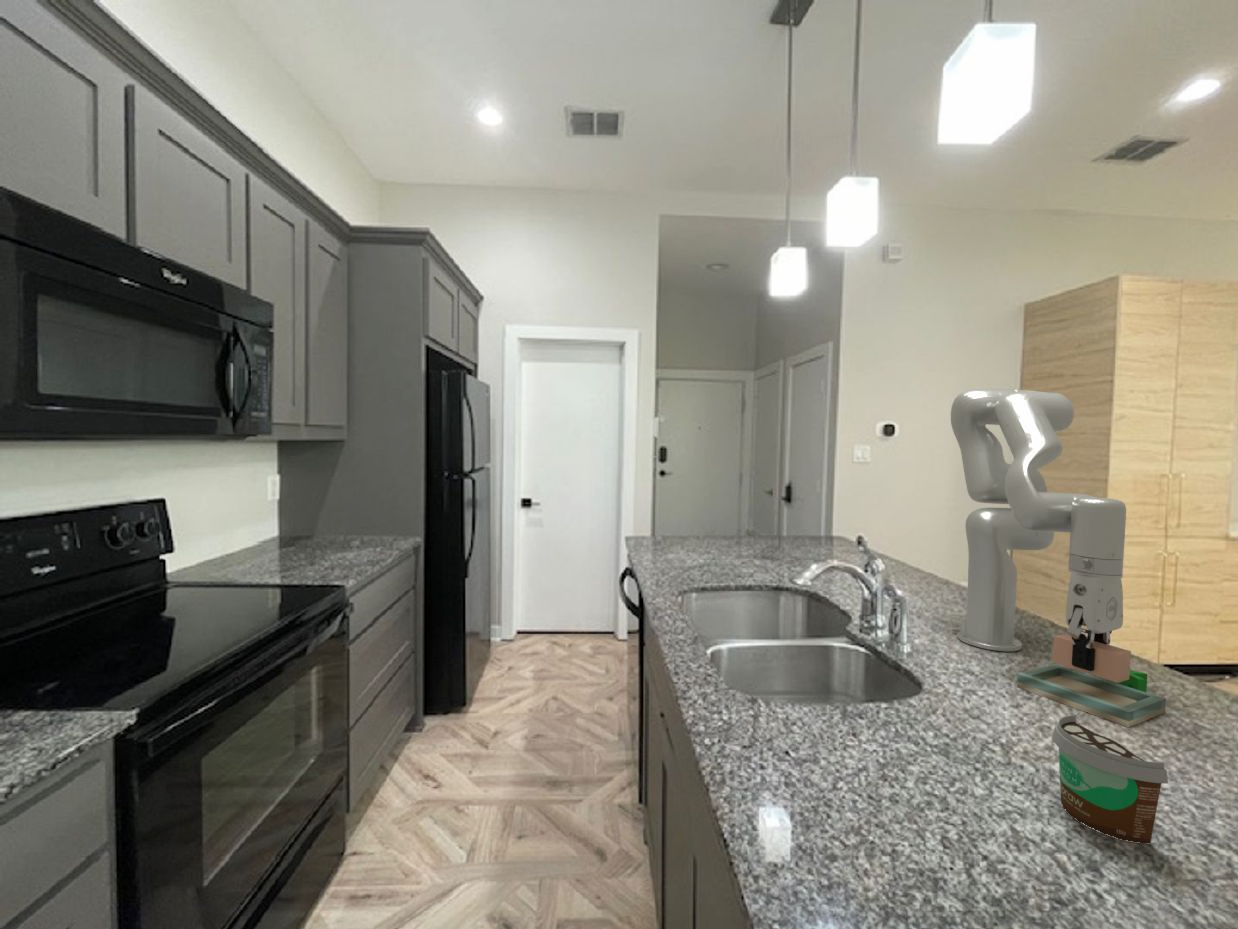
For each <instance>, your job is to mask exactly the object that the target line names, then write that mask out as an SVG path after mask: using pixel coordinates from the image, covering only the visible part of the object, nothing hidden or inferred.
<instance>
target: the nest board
mask: <svg viewBox="0 0 1238 929" xmlns="http://www.w3.org/2000/svg"><path fill="white" fill-rule="evenodd" d="M1016 675H1017V676H1016V687H1017V688H1019V689H1021V690H1024V691H1027V692H1030V693H1033V694H1035V695H1039V696H1041V697H1042V698H1043V697H1044V698H1046V699H1050V700H1052V701H1055V702H1058V703H1060V704H1062V705H1066V706H1068V707H1071V708H1074V709H1077V710H1078V711H1079V710H1080V711H1083V712H1084V711H1085V713H1087V712H1088V713H1087V714H1091V715H1093V716H1095V715H1096V717H1098V718H1101V719H1104V718H1105V719H1104V720H1106V719H1108V720H1107V721H1109V720H1110V721H1109V722H1112V723H1114V724H1118V725H1120V724H1121V725H1120V726H1123V727H1126V728H1130V727H1134V726H1135V725H1138V724H1141V723H1144V722H1147V721H1148V720H1150V718H1151V719H1153V718H1155V717H1158V716H1161V715H1162V714H1165V713H1166V706H1167V705H1166V703H1167V698H1166V697H1162V696H1158V695H1156V694H1153V693H1148V692H1147V691H1146V692H1143V691H1140V690H1137V689H1134V688H1131V687H1127V686H1124V685H1121V684H1118V683H1115V682H1111V681H1108V680H1105V679H1102V678H1099V677H1095V676H1093V675H1091V674H1088V673H1085V672H1081V671H1078V670H1075V669H1072V668H1069V667H1065V666H1062V665H1059V664H1056V663H1051V664H1049V665H1045V666H1043V667H1038V668H1035V669H1030V670H1027V671H1023V672H1019V673H1017V674H1016Z"/></svg>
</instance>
